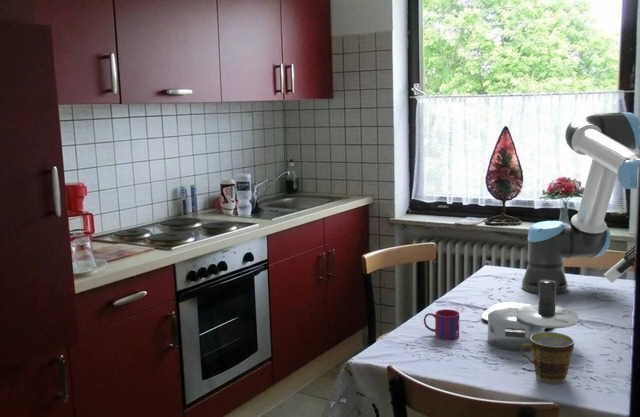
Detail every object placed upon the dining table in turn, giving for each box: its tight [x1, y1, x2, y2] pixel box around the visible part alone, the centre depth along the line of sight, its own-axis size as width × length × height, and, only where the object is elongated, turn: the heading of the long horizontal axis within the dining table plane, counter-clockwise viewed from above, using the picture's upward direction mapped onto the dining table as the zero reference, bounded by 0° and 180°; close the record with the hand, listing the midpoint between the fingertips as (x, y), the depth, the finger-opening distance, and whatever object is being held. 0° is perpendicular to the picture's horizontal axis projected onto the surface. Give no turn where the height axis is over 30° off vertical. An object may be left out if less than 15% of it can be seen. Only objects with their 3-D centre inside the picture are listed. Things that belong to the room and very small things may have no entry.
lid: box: [516, 280, 579, 329], centre depth 181 cm, size 16×16×10 cm
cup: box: [423, 309, 460, 341], centre depth 191 cm, size 7×10×7 cm
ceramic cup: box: [519, 331, 575, 385], centre depth 159 cm, size 13×10×10 cm
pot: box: [487, 308, 545, 353], centre depth 185 cm, size 20×15×7 cm
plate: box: [481, 301, 548, 330], centre depth 204 cm, size 22×22×2 cm
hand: (607, 278), depth 175 cm, fingers closed
